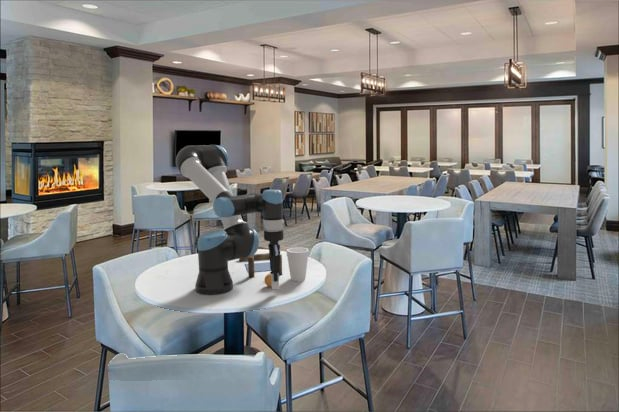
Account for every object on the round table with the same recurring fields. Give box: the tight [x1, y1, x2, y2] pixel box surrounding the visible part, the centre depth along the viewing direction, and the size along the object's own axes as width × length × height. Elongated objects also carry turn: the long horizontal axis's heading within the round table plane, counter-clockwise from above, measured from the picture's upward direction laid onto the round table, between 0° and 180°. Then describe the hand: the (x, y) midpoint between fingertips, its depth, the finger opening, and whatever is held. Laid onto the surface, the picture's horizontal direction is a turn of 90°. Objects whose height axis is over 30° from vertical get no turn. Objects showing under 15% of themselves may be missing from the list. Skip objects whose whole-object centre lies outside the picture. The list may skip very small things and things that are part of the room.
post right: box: [279, 253, 283, 276], centre depth 202 cm, size 3×3×9 cm
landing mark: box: [244, 261, 271, 273], centre depth 215 cm, size 14×14×1 cm
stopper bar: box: [238, 252, 270, 262], centre depth 229 cm, size 18×2×2 cm, turn 104°
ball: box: [264, 273, 272, 288], centre depth 186 cm, size 6×6×6 cm
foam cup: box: [286, 247, 310, 282], centre depth 195 cm, size 10×9×13 cm
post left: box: [247, 256, 255, 279], centre depth 199 cm, size 3×3×9 cm
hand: (275, 288), depth 177 cm, fingers closed
